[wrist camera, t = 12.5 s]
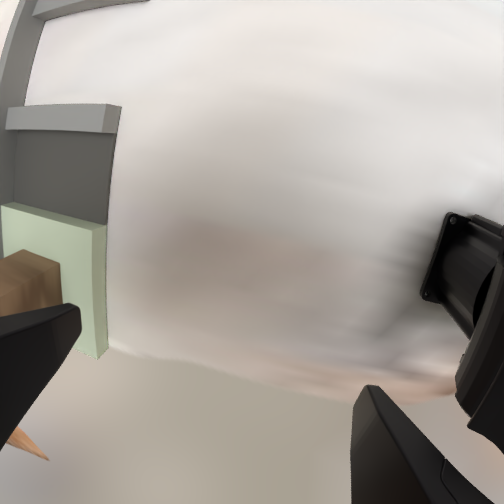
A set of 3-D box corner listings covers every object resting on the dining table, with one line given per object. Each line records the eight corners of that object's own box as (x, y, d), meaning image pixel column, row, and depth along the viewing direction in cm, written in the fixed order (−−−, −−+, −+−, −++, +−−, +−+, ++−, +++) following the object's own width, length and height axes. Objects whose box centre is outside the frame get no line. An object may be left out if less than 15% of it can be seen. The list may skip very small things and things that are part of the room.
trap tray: (108, 348, 26) (89, 368, 23) (18, 305, 27) (-2, 318, 24) (156, -20, 16) (136, -39, 12) (43, 6, 17) (20, -3, 13)
